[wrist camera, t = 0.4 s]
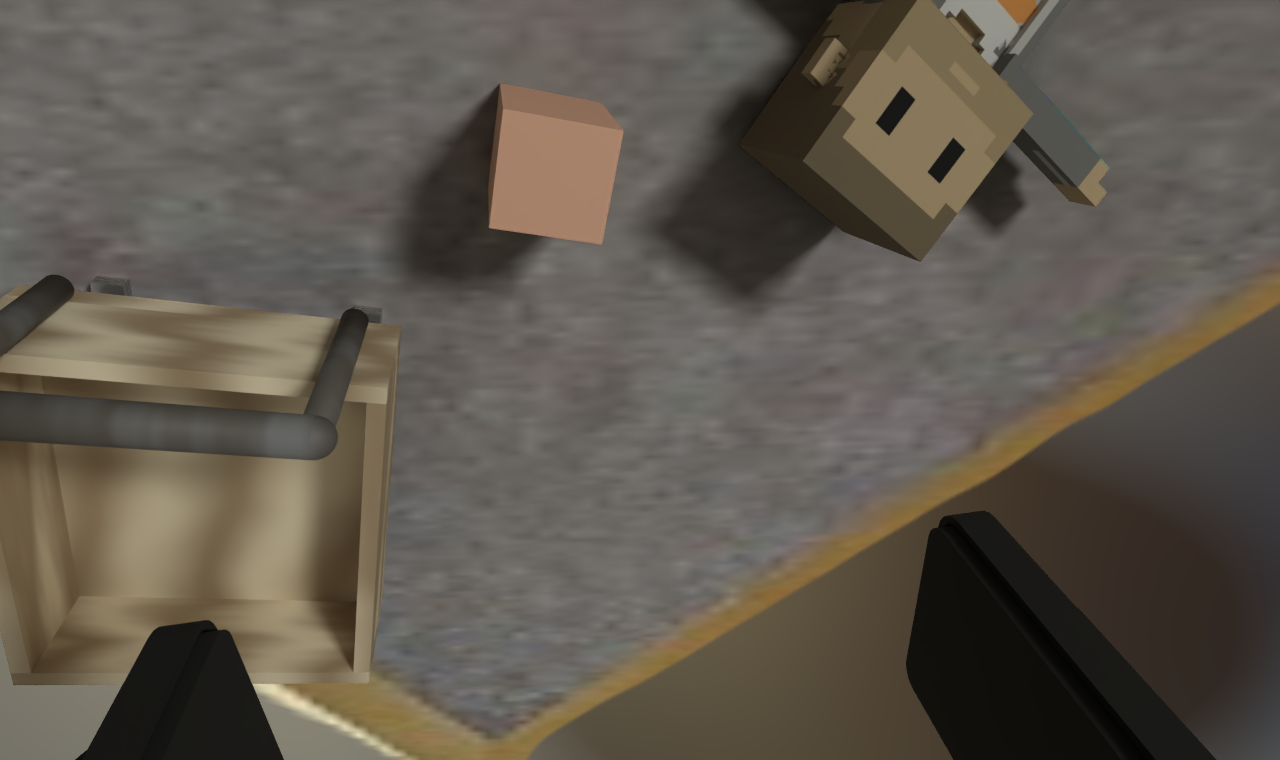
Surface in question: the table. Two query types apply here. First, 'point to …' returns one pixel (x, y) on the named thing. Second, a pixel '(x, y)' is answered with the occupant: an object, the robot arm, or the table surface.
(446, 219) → the table surface
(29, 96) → the table surface
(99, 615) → the cart
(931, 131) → the toy
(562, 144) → the block
